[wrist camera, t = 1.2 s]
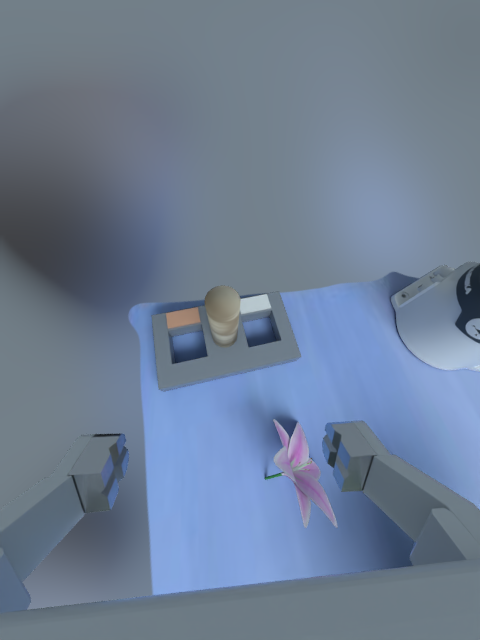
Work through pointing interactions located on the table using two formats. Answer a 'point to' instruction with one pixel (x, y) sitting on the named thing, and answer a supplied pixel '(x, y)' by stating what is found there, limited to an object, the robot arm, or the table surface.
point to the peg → (223, 314)
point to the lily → (301, 472)
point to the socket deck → (220, 358)
